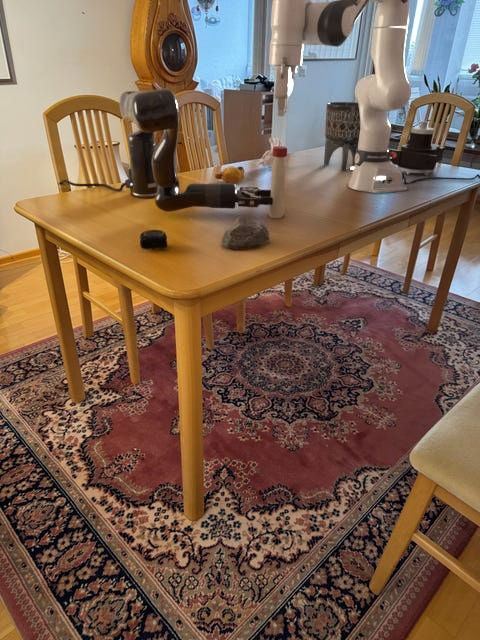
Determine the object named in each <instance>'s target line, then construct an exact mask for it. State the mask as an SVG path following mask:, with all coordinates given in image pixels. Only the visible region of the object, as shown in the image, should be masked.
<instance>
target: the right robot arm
mask: <svg viewBox="0 0 480 640" xmlns="http://www.w3.org/2000/svg"><path fill="white" fill-rule="evenodd" d="M368 3H377V5H376V9H375V14H374V20H373V26H372V35H371V43H370V52H369V54H370V58H371V60H372V62H373V67H374V74H373V73H372V74H369V75H365V76H364V77H362V78H360V79H359V80H358V81H357V83H356V85H355V88H354V97H355V100H356V101H357V102H356V103H358V105H359V112H360V134H359V142H358V148H357V149H356V155H355V166H350V170H353V171H352V174H351V176H350V180H349V182H348V184H347V187H348V188H350V189H352V190H355V191H359V192H367V193H372V194H386V193H387V194H388V193H393V192H394V193H395V192H404V191H408V186H406V185H410V184H414V183H416V182H421V181H424V180H458V181H472V180H475V179H477V178H480V174H479V173H477V174H476V175H475V176H474V177H444V176H427V177H422V178H421V177H420V178H417V179H414V180H412V181H411V182H407V178H406V176H405V173H404V172H402V171H400V170H399V169H398V168H397V167H398V166H397V165H394V164H393V163H392V162H391V161H390V158H395V157H396V156H397V154H395V152H390V151H388V149H389V145H390V139H391V135H392V126H391V124H390V122H389V118H388V112H393V111H397V110H398V111H399V110H401V109H403V108H404V107H405V106H406V105H407V104H408V103H409V101H410V99H411V96H412V86H411V84H410V82H409V81H408V78H407V73H406V67H405V49H406V42H407V41H406V40H407V34H408V26H409V18H410V0H333V1H319V2H313V1H312V0H272V3H271V12H270V13H271V14H270V29H271V38H270V41H269V55H268V56H269V57H268V65H269V66H273V71H272V72H273V73H275V75H274V87H273V88H274V89H273V98H274V99H276V100H277V116H278V117H284V116H285V114H286V113H287V111H288V102H289V97H290V96H291V94H292V93H293V89H294V83H295V77H296V74H297V72H298V71H297V68H298V67H301V66H302V64H303V51H304V46H328V47H336V48H337V47H338V48H339V47H340V46H342V45H344V43H346V41H347V40H348V39H349V37H350V36H351V35H352V31H353V29H354V27H355V23H356V22H357V21H358V19H359V17H360V16H361V14H362V13H363V11H364V9H365V8H366V6H367V5H368Z"/></svg>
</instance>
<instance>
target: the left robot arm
mask: <svg viewBox="0 0 480 640" xmlns="http://www.w3.org/2000/svg"><path fill="white" fill-rule="evenodd" d="M119 111H120V115H121V118H122V119H123V120H124V121H125V122H127V123H133V124H135V125H136V127H137V128H138V130H136V131H134V132H131V133H130V134H128V136H127V146H128V156H129V166H128V168H127V170H128V171H127V172H128V178H127V179H125V180H124V182H123V183H122V184H121V185H120V187H119V188H114V187H113V186H111V185H109V184H106V183H75V182H72V181H70V180H67V179H62V180H61V181H62V182H60V181H59V182H58V185H62V184H64V183H66V184H68V185H71V186H73V187H103V188H106V189H107V188H108V189H109V190H112V191H115V192H122V191H123V190H124V188H126V189H129V190H130V195H132V196H134V197H136V198H144V199H145V198H146V199H148V198H155V199H154V203H155V206H156V208H157V209H158V210H161V211H163V212H167V213H168V212H169V213H170V212H177V211H180V210H185V209H189V208H193V207H194V208H196V207H197V208H210V209H228V210H229V209H230V210H231V209H235V208H236V204H237V206H238V207H239V208H241V207H242V208H259V206H270V205H272V204H273V198H272V197H270V196H271V189H261V188H259V187H257V186H240V187H239V189H237V186H236V183H228V182H225V183H223V182H222V183H221V182H211V183H195V182H194V183H189V184H188V185H187V186H186V188H185V190H184V191H183V192H181V191H180V189H181V188H180V187H181V186H180V185H181V184H180V180H179V177H178V166H177V165H178V164H177V149H178V142H179V131H180V127H179V126H180V110H179V104H178V102H177V98H176V95H175V94H174V91H173V90H171V89H170V88H158V89H152V90H147V91H146V90H127V91H123V92H122V93H121V95H120V97H119ZM161 131H163V134H162V136H161V138H160V140H159V142H158V143H157V141H156V133H157V132H161ZM156 143H157V144H156ZM180 192H181V193H180Z"/></svg>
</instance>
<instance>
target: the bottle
mask: <svg viewBox="0 0 480 640" xmlns="http://www.w3.org/2000/svg"><path fill="white" fill-rule="evenodd" d="M286 165H287V164H286V159H285V157H275V159H274V162H273V166H272V168H271V179H270V180H271V181H270V190H271V196H270V197H272V198H273V204H272V205H269V218H271V219H282V218H283V217H284V216H283V215H284V204H285V203H284V202H285V190H286V189H285V187H286V171H287V166H286Z"/></svg>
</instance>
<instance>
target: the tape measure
mask: <svg viewBox="0 0 480 640" xmlns="http://www.w3.org/2000/svg"><path fill="white" fill-rule="evenodd" d="M167 236H168V235H167V234H166V232H165V231H164V230H161V229H147V230H144V231H143V232H141V233H140V235H139V240H140V241H139V245H140V246H139V247H141V248H142V249H146V250H157V249H167V248H168V240H167V239H168V237H167Z"/></svg>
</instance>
